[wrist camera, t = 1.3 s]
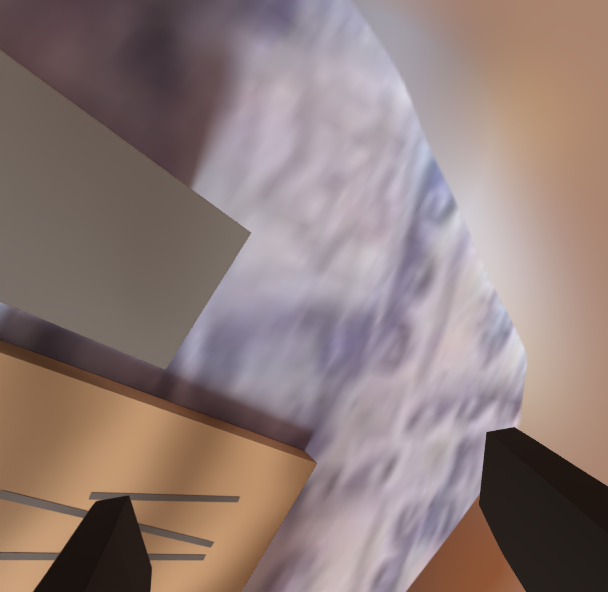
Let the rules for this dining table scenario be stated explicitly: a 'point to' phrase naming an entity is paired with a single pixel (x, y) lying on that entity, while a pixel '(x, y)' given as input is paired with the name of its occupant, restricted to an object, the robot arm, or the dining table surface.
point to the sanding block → (100, 227)
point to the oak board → (133, 477)
